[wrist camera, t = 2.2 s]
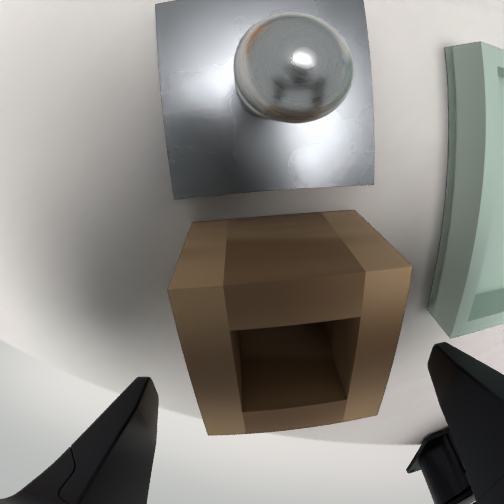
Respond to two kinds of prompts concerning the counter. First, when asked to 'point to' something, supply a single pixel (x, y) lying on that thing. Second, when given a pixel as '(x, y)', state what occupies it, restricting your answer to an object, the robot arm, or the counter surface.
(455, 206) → the sage tray
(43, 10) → the counter surface
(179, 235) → the counter surface
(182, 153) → the stand
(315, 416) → the walnut block
